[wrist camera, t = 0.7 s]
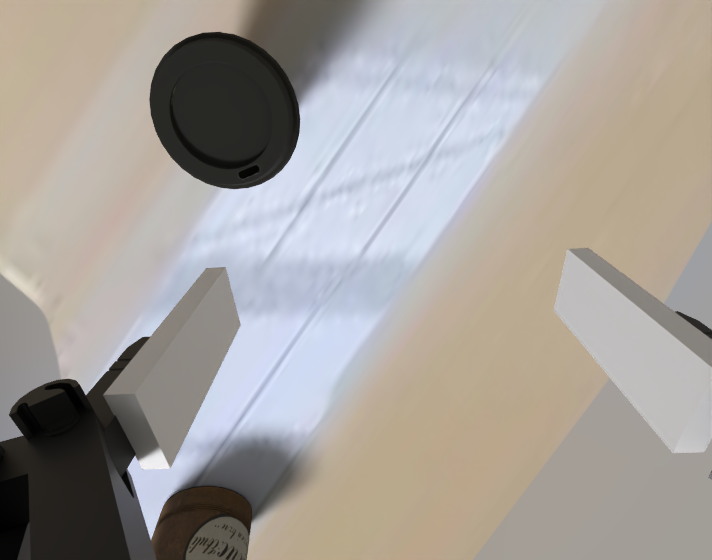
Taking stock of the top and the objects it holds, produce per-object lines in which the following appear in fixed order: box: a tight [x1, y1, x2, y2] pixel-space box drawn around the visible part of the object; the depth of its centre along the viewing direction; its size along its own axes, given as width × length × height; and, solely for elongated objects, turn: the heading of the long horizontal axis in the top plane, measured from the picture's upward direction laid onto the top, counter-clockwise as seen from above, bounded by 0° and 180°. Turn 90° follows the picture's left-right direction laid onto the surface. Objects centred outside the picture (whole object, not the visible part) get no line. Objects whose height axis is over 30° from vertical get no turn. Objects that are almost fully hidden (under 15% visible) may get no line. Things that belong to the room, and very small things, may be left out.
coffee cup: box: [150, 32, 300, 189], centre depth 30 cm, size 10×10×15 cm
